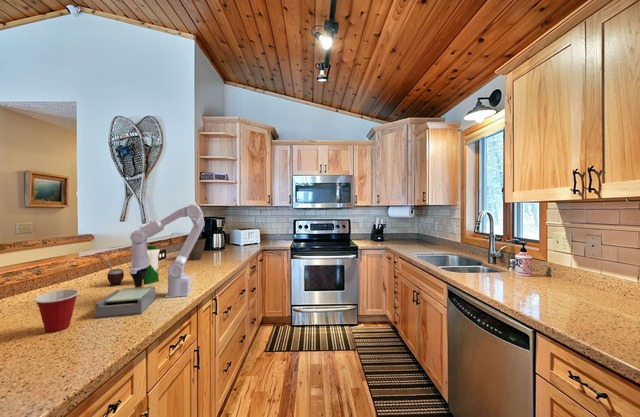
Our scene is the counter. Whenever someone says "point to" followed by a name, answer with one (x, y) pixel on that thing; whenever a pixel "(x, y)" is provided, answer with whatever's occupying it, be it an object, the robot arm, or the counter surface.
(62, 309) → the plastic cup
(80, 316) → the counter surface
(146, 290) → the lid
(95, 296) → the counter surface
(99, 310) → the parts tub
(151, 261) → the milk carton
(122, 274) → the mate gourd
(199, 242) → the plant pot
